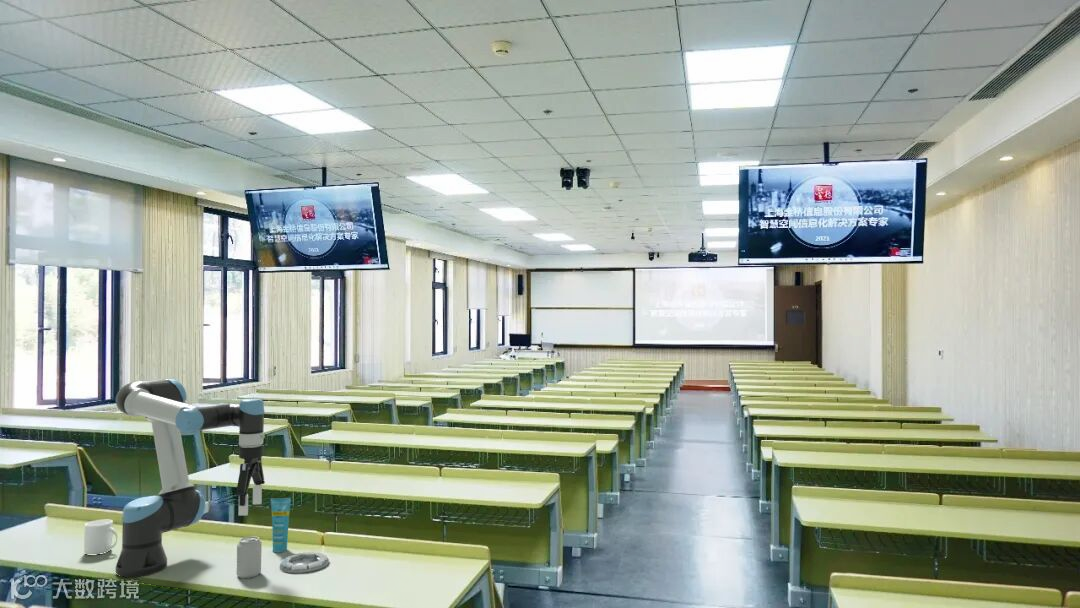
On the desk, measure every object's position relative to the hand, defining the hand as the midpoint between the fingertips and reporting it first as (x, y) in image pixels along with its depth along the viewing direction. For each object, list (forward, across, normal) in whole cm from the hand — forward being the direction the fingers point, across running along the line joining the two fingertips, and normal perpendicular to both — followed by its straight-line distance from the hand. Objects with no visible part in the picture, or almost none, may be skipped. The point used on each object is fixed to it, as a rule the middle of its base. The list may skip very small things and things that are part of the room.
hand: (250, 509), depth 224 cm
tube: (+22, +24, -3) cm, 32 cm away
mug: (+22, +27, +61) cm, 70 cm away
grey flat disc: (+22, +8, -16) cm, 28 cm away
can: (+22, 0, 0) cm, 22 cm away
